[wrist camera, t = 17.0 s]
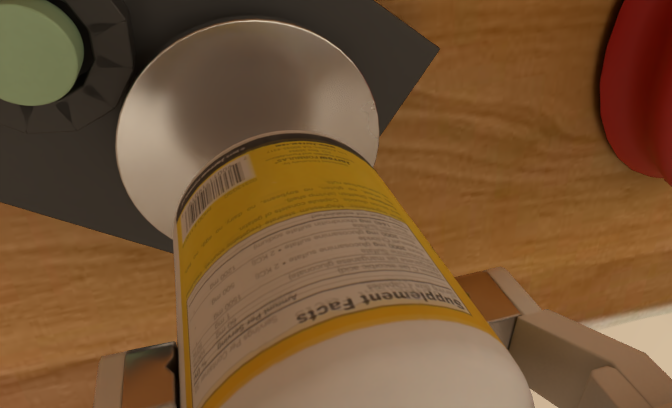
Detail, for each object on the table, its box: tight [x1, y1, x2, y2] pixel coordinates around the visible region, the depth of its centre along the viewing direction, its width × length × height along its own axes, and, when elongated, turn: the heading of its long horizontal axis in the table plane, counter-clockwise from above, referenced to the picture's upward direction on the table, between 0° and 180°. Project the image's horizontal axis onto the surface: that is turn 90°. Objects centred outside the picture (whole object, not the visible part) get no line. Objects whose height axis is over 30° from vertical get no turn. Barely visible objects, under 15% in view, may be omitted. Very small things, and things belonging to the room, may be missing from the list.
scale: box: [0, 0, 440, 254], centre depth 20 cm, size 16×14×4 cm
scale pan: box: [115, 15, 379, 240], centre depth 19 cm, size 10×10×1 cm
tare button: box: [0, 0, 84, 106], centre depth 15 cm, size 3×3×2 cm
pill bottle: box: [173, 130, 535, 408], centre depth 11 cm, size 6×6×12 cm
